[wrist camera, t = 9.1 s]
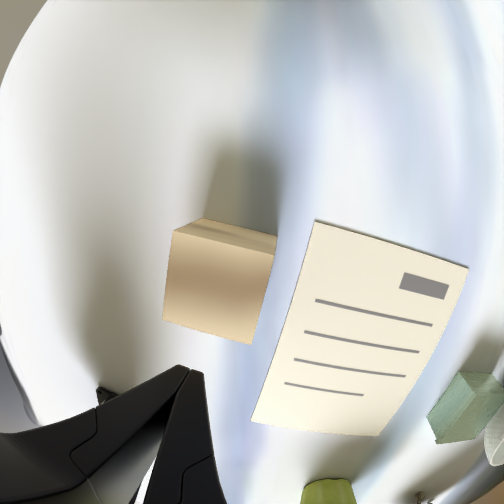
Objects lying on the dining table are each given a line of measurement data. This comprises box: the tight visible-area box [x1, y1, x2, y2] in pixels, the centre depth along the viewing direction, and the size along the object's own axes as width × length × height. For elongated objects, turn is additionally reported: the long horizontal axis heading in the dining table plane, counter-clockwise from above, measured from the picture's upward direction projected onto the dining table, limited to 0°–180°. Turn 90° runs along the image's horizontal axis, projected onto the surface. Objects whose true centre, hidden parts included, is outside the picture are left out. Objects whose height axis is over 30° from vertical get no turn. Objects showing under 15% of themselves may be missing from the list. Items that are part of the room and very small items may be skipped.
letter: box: [250, 222, 469, 436], centre depth 19 cm, size 18×13×1 cm
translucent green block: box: [427, 371, 504, 444], centre depth 17 cm, size 6×6×4 cm
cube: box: [162, 218, 277, 345], centre depth 16 cm, size 5×5×5 cm
